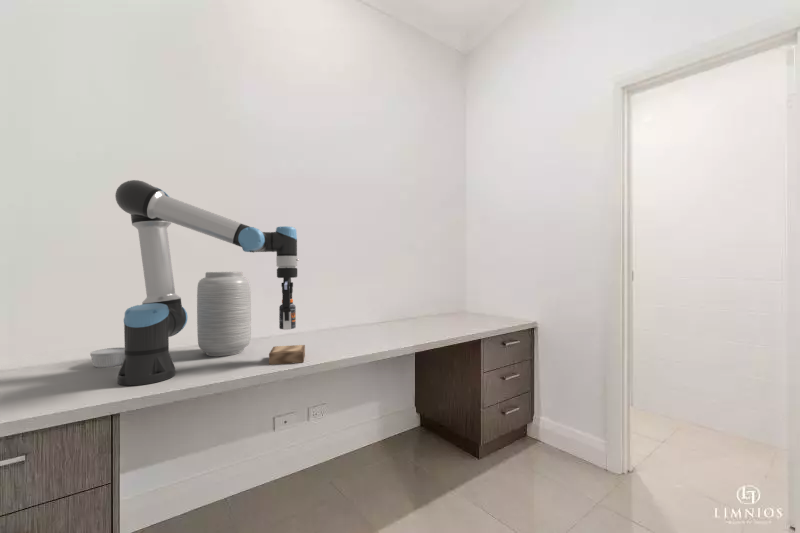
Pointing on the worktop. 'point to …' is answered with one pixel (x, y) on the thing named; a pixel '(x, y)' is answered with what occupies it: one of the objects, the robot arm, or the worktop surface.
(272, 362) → the plinth
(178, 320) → the robot arm
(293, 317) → the pill bottle
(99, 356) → the ramekin
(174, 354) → the worktop surface
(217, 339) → the vase
